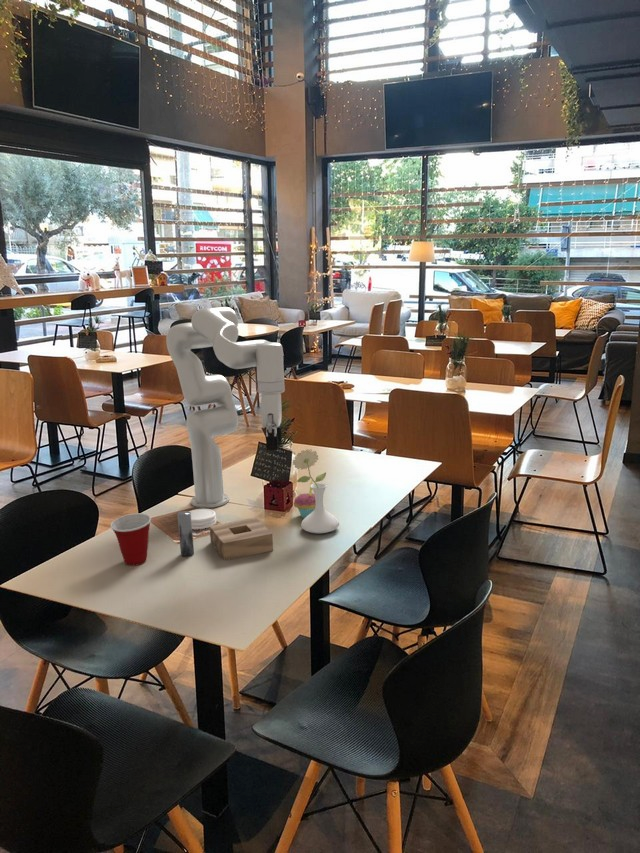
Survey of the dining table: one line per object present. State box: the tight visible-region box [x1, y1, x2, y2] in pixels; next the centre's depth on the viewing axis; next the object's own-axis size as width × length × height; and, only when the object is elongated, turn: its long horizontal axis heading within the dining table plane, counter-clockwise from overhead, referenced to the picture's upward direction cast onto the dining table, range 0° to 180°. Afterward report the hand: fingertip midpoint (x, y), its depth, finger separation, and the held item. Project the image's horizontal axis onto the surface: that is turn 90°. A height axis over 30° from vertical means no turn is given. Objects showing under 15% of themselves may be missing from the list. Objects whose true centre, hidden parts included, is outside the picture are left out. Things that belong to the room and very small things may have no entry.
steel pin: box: [177, 510, 195, 558], centre depth 193 cm, size 4×4×12 cm
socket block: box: [209, 517, 274, 561], centre depth 198 cm, size 14×14×5 cm
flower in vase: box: [292, 448, 340, 534], centre depth 205 cm, size 13×11×25 cm
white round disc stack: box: [188, 508, 217, 531], centre depth 216 cm, size 10×10×4 cm
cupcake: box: [293, 481, 316, 519], centre depth 218 cm, size 9×8×12 cm
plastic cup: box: [110, 512, 152, 567], centre depth 189 cm, size 11×11×12 cm
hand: (274, 445), depth 201 cm, fingers open, 9 cm apart
